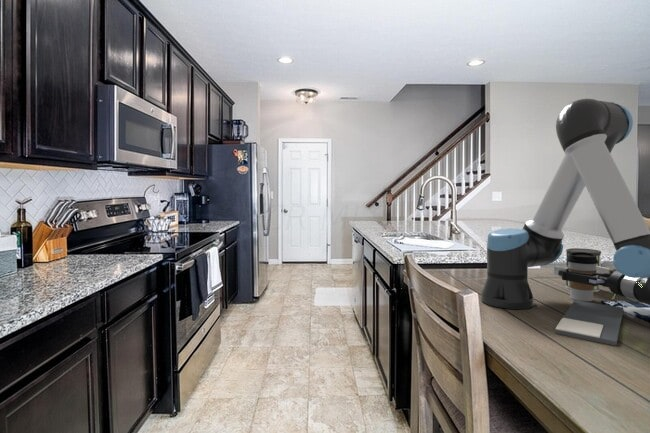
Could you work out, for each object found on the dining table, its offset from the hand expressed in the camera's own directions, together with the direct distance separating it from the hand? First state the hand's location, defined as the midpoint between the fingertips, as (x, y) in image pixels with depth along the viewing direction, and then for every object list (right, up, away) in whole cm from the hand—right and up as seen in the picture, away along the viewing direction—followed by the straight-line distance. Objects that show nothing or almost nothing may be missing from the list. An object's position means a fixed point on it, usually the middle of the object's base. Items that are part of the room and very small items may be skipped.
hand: (574, 269), depth 122 cm
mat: (-11, -11, -23) cm, 28 cm away
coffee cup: (0, -9, -3) cm, 10 cm away
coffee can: (+10, -8, +10) cm, 16 cm away
